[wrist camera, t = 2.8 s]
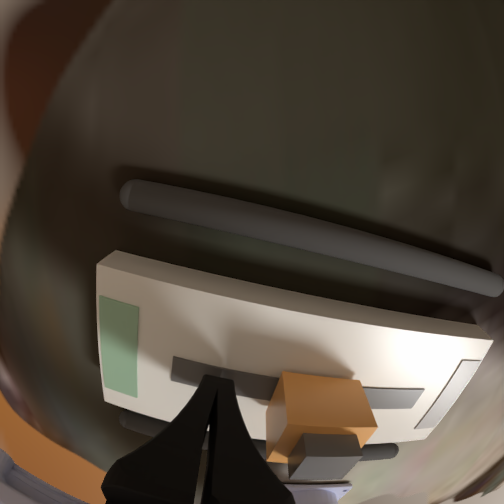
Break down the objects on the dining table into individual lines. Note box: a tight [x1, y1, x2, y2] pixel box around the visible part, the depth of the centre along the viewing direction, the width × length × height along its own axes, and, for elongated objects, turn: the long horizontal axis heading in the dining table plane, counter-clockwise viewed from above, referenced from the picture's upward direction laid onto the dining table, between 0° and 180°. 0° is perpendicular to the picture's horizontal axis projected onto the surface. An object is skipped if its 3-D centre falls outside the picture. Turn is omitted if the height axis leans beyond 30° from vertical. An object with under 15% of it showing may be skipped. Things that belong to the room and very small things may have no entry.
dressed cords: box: [119, 179, 504, 461], centre depth 15 cm, size 16×21×1 cm
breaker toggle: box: [266, 371, 378, 480], centre depth 11 cm, size 3×4×4 cm
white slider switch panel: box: [96, 250, 493, 444], centre depth 14 cm, size 9×22×2 cm, turn 77°
